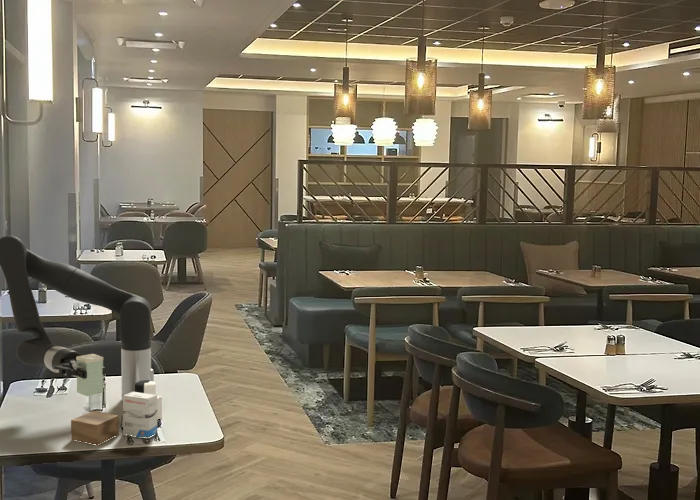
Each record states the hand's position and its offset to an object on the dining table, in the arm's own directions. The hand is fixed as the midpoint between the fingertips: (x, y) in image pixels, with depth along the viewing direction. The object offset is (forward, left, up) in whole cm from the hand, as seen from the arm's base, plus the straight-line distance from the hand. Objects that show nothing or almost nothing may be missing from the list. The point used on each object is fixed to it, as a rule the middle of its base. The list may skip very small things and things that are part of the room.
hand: (95, 373), depth 218 cm
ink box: (-11, +6, -19) cm, 23 cm away
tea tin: (0, -3, -6) cm, 7 cm away
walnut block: (-1, -1, -19) cm, 19 cm away
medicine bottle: (-19, -3, -19) cm, 27 cm away
